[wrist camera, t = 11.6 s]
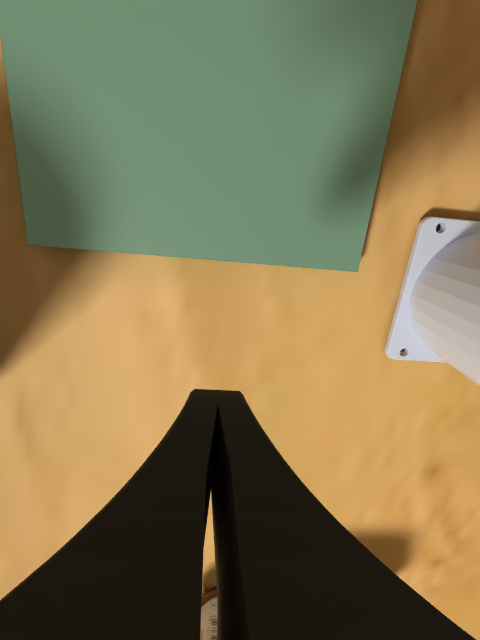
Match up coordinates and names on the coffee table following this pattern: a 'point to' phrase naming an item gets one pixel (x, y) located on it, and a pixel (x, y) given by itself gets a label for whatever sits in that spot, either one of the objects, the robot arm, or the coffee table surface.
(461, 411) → the coffee table surface
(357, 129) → the board
